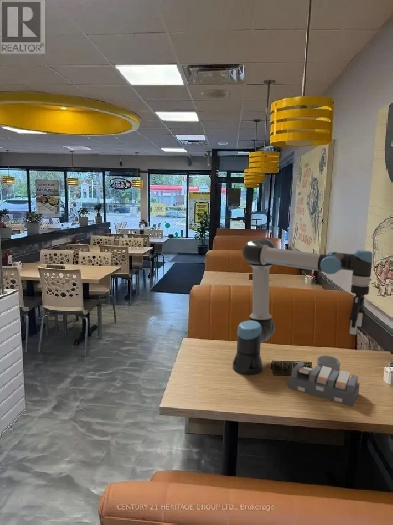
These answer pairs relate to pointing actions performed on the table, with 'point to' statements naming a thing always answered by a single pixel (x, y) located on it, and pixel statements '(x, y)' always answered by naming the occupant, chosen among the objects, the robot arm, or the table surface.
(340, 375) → the rocker
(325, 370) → the block
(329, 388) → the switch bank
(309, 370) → the rocker
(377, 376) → the table surface
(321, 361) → the teacup
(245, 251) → the robot arm
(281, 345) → the table surface
